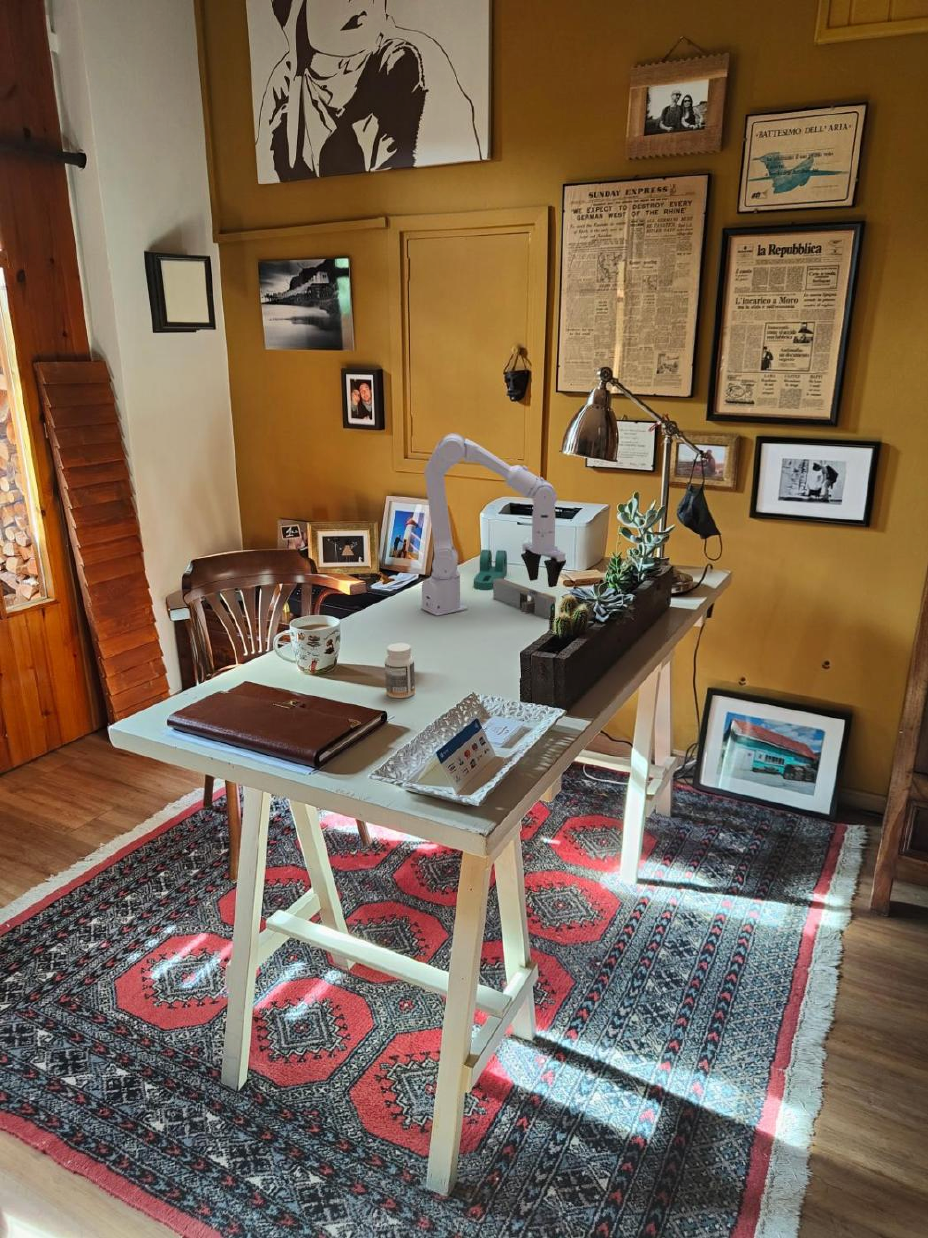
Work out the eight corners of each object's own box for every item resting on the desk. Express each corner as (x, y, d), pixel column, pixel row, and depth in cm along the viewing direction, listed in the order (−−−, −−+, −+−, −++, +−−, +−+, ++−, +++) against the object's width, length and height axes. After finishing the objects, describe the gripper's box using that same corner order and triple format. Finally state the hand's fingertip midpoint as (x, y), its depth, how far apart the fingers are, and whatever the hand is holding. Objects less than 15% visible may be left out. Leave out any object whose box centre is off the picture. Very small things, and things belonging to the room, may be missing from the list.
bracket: (484, 573, 262) (484, 547, 260) (507, 574, 261) (506, 548, 258) (471, 590, 246) (471, 562, 243) (495, 591, 244) (495, 563, 242)
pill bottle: (400, 686, 180) (398, 639, 177) (421, 692, 177) (419, 645, 174) (380, 694, 176) (378, 647, 173) (401, 701, 173) (399, 654, 170)
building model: (546, 619, 220) (546, 599, 218) (493, 598, 237) (493, 579, 236) (553, 617, 221) (554, 597, 220) (500, 596, 238) (500, 578, 237)
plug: (529, 614, 224) (529, 602, 223) (518, 610, 227) (518, 598, 226) (555, 608, 228) (555, 596, 227) (544, 604, 232) (544, 592, 231)
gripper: (574, 533, 219) (573, 586, 223) (537, 523, 230) (537, 574, 234) (552, 537, 215) (552, 591, 219) (516, 527, 226) (516, 579, 230)
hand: (542, 583), depth 226 cm, fingers open, 7 cm apart
